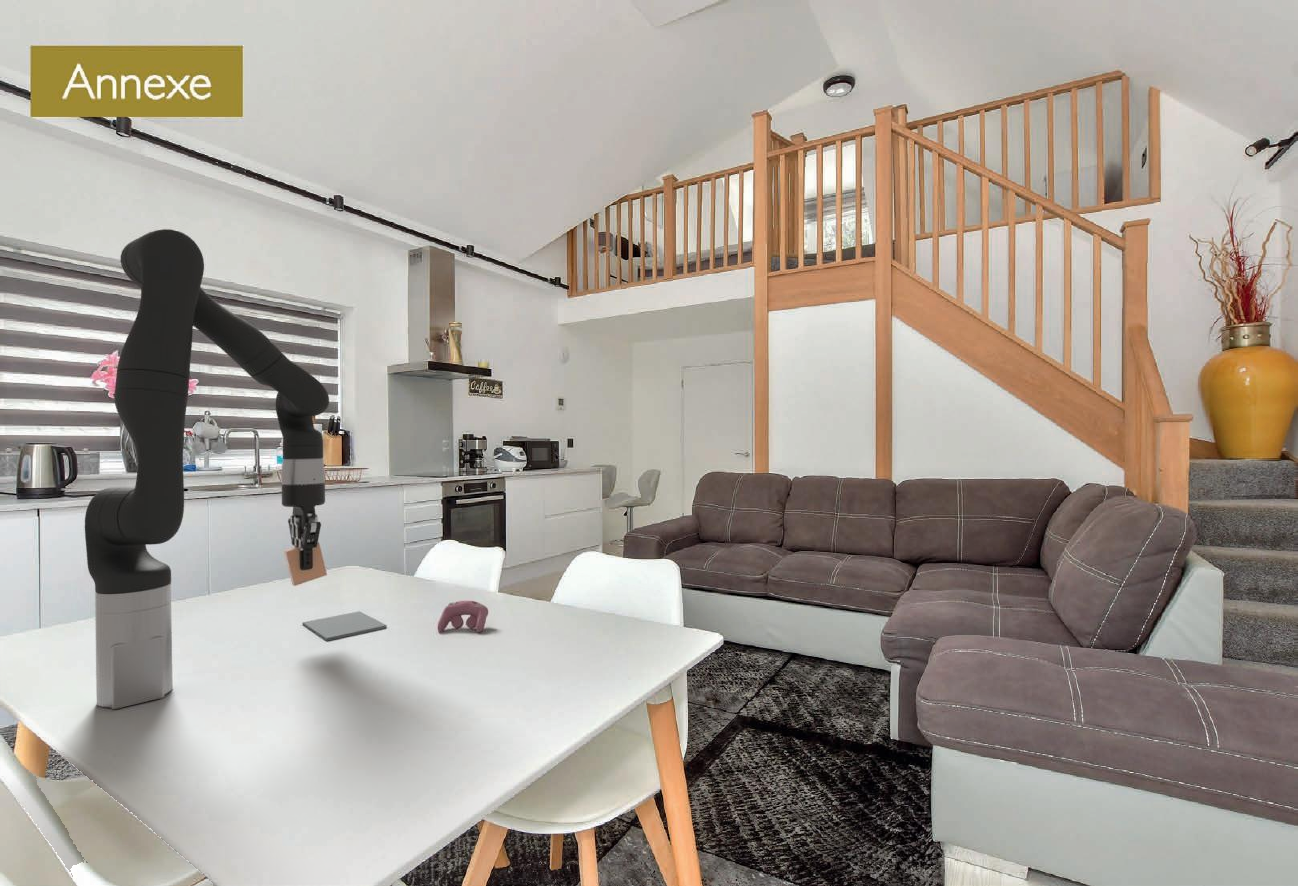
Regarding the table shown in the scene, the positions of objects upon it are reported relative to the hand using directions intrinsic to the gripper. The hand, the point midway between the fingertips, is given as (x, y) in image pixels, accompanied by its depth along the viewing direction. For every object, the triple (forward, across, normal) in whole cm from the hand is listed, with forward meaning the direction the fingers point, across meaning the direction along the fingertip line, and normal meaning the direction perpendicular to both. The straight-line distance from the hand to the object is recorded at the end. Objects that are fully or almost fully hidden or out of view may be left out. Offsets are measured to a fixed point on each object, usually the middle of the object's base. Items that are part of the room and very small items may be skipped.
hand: (304, 568), depth 121 cm
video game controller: (+15, -14, -26) cm, 34 cm away
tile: (+2, 0, -1) cm, 3 cm away
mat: (+15, +7, -9) cm, 19 cm away
